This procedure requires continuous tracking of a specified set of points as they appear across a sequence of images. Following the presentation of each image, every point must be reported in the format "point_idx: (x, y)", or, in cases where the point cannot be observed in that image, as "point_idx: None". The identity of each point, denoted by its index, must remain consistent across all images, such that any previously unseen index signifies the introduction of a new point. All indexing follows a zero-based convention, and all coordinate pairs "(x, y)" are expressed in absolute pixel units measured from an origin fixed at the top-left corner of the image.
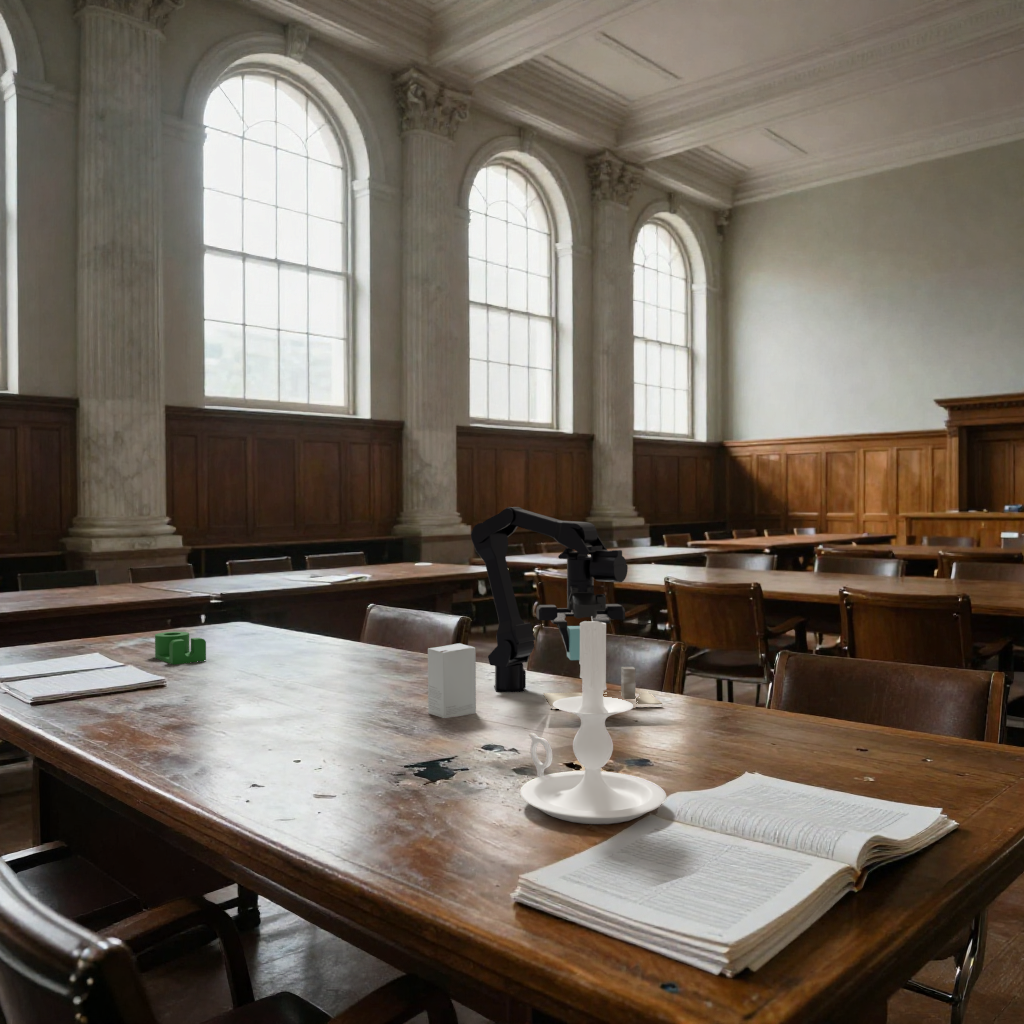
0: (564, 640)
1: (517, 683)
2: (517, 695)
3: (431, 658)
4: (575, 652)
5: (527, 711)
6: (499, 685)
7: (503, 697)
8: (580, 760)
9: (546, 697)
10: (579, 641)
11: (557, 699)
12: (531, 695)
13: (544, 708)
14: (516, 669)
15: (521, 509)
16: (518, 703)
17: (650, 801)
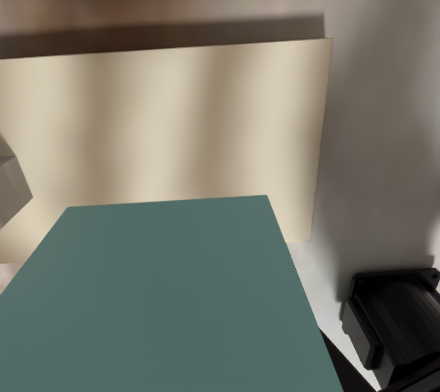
0: (366, 382)
1: (383, 301)
2: (374, 259)
3: None
4: (228, 235)
5: (426, 15)
6: (434, 296)
7: (425, 237)
8: None
9: (314, 181)
10: (181, 334)
11: (280, 150)
12: (332, 260)
13: (341, 73)
14: (416, 340)
15: None
16: (409, 158)
17: None
